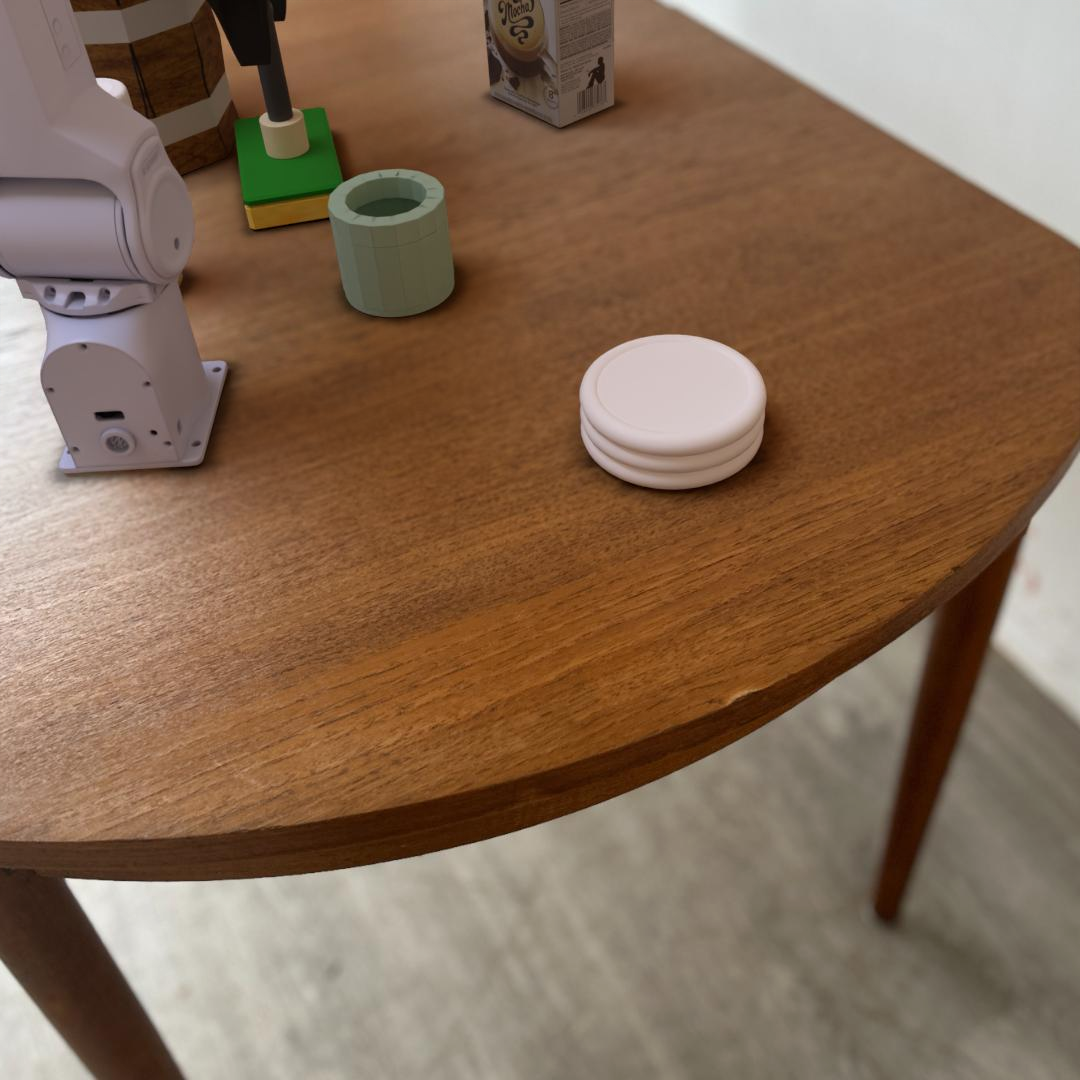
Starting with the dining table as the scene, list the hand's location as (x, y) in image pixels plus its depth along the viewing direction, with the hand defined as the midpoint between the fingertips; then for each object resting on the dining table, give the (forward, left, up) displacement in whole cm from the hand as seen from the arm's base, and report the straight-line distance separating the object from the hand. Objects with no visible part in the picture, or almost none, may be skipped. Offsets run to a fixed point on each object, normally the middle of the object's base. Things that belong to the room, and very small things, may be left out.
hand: (263, 41), depth 83 cm
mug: (+11, +13, -11) cm, 20 cm away
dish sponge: (0, 0, -11) cm, 11 cm away
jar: (-16, -9, -10) cm, 21 cm away
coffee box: (+11, -20, -11) cm, 25 cm away
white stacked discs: (-33, -25, -11) cm, 43 cm away
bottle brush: (0, 0, -8) cm, 8 cm away
